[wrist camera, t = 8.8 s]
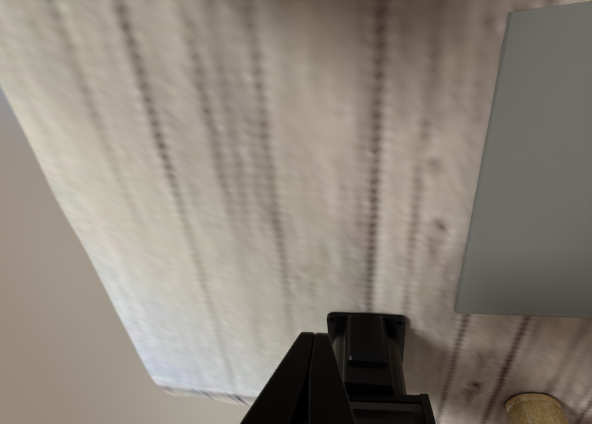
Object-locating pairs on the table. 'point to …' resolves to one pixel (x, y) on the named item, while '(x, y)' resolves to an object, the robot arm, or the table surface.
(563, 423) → the sprinkles bottle
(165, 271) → the table surface
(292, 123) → the table surface
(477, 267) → the push mat
